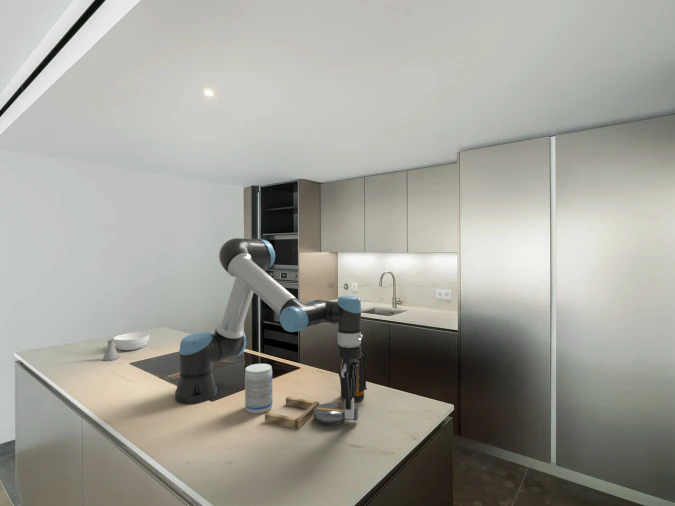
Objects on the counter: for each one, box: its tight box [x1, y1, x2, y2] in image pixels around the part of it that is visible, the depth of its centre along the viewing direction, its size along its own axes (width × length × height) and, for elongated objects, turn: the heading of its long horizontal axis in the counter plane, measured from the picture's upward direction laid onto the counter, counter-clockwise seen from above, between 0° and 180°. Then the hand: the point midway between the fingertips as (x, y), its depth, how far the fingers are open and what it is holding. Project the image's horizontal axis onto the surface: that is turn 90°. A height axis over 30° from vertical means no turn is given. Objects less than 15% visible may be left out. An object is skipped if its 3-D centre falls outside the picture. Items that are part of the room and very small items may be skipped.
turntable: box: [313, 402, 359, 425], centre depth 116 cm, size 15×11×4 cm
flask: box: [102, 338, 120, 362], centre depth 182 cm, size 7×7×10 cm
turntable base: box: [321, 423, 339, 426], centre depth 116 cm, size 7×7×1 cm
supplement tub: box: [244, 363, 273, 414], centre depth 125 cm, size 10×10×15 cm
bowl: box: [112, 332, 151, 351], centre depth 202 cm, size 18×18×7 cm
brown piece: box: [264, 396, 320, 430], centre depth 120 cm, size 13×15×2 cm
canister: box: [340, 348, 368, 402], centre depth 133 cm, size 9×11×20 cm
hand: (349, 417), depth 113 cm, fingers closed
